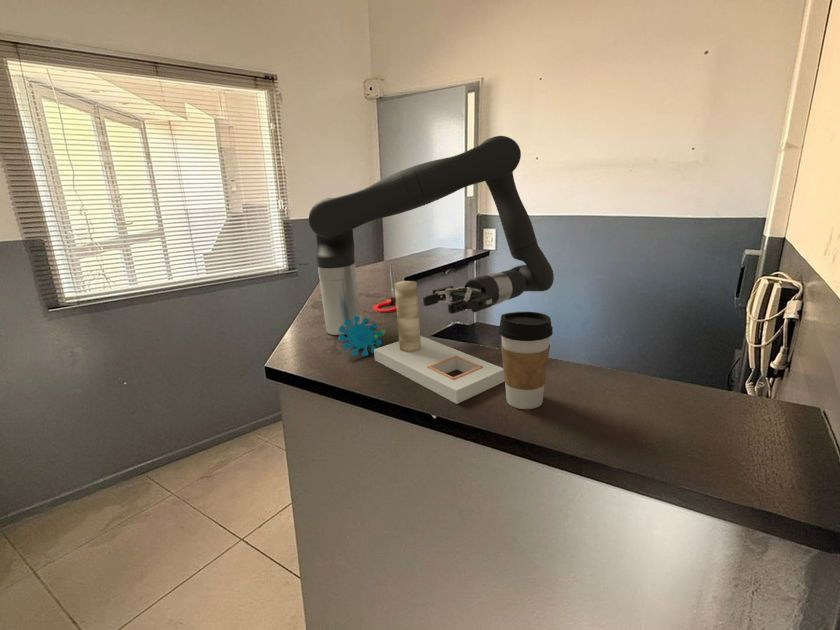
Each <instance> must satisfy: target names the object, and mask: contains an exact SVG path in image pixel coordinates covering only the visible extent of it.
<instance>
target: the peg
mask: <svg viewBox="0 0 840 630" xmlns="http://www.w3.org/2000/svg"><path fill="white" fill-rule="evenodd" d="M395 296H396V308H397V311H396V318H397V319H396V320H397V330H398V341H399V345H400V350H401V351H404V352H414V351H417V350H419V349H420V348H421V340H420V336H421V330H420V329H421V328H420V327H421V326H420V313H419V311H420V310H419V295H418V282H416V281H414V280H403V281H398V282H395Z"/></svg>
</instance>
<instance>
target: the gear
mask: <svg viewBox="0 0 840 630" xmlns="http://www.w3.org/2000/svg"><path fill="white" fill-rule="evenodd" d="M353 321H354V326H351V325H350V322H351V321H350V319H346V320H345V321H344V324H345V325H346V326H347V327H348V329H349V331H346V330H345V327H344V326H343V325H342V326H341V327H340V328H339V331H340V332H343V333H345V334H346V336H345V335H342V334H340V335H338V341H339V342H344V341H345V342H344V343H343V344H342V348H343V350H344V351H347V350H348V349H349V348H351V347H353V349H352V350H351V352H350V354H351V355H352V356H354V357H356V356H357V355H358V353H359V352H358V351H360V349H363V350H362V353H361V357H365V358H367V357H368V355H369V351H368V347H369V348H370V353H371V354H372V355H374V349H377V348H380V346H381V345H382V343H383V342H382V340H381V339H382V337H384V336H385V334H386V332H387V331H386V330H385V329H381V331H380V330H379V331H375V330H377V328H378V324H377V323H375V322H373V323H372V324H371V325H367V324H369V322H370V319H369V318H368V317H364V318H363V320H362V321H361V324H357V322H358V321H359V317H357V316H354V318H353ZM374 345H375V346H374ZM366 356H367V357H366Z"/></svg>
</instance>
